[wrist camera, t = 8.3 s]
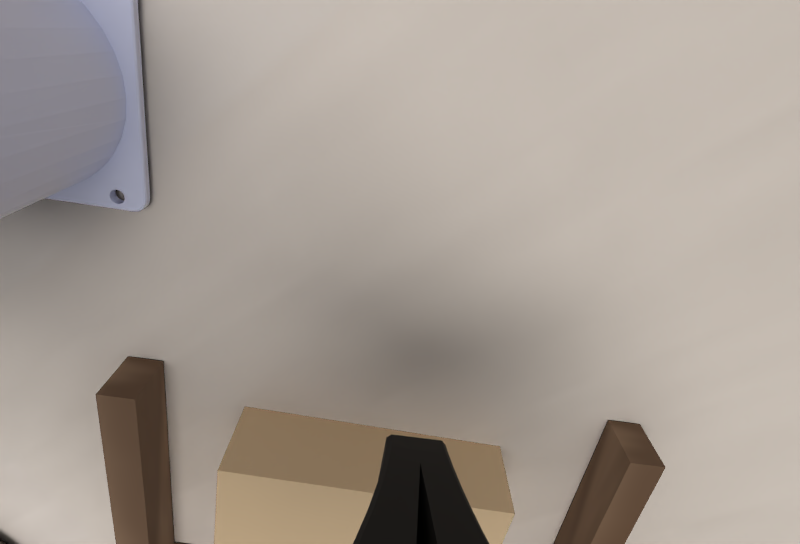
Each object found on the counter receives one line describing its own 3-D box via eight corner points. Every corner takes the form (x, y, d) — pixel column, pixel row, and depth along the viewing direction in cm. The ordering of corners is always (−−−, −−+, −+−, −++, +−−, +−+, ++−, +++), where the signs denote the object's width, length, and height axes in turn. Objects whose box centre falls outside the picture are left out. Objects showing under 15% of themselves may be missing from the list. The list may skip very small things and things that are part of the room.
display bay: (147, 557, 27) (124, 604, 25) (128, 356, 22) (95, 394, 19) (554, 602, 29) (567, 650, 27) (640, 424, 23) (665, 467, 21)
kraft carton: (237, 517, 27) (211, 594, 23) (246, 401, 23) (217, 470, 19) (458, 548, 27) (465, 626, 24) (498, 441, 24) (514, 513, 20)
